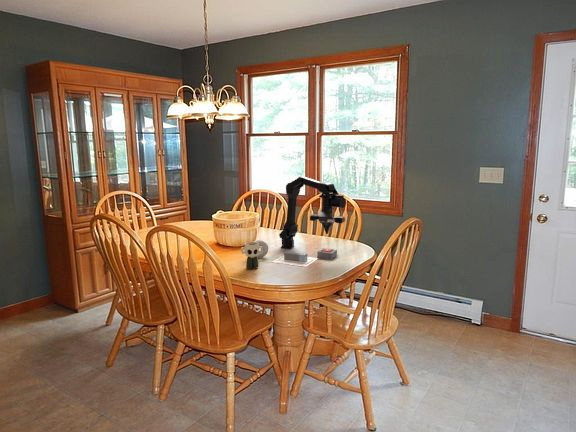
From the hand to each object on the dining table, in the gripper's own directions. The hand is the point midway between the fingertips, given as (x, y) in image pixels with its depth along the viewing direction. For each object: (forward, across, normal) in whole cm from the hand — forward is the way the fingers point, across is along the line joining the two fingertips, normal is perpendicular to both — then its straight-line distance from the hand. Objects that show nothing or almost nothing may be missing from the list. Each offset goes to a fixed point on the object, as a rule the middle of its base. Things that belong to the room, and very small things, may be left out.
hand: (327, 233), depth 235 cm
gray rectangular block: (+13, -12, -14) cm, 23 cm away
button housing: (+13, 0, 0) cm, 13 cm away
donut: (+13, -32, -18) cm, 40 cm away
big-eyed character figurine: (+13, -26, -36) cm, 47 cm away
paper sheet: (+13, -12, -14) cm, 23 cm away
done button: (+13, 0, 0) cm, 13 cm away
